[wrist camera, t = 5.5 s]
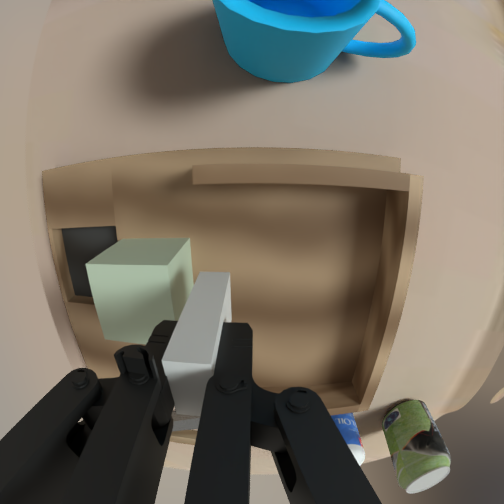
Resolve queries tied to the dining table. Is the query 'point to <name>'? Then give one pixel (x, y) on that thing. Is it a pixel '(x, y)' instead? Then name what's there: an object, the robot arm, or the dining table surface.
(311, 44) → the mug
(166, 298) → the block
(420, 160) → the dining table surface
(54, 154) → the dining table surface
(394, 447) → the beverage can
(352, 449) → the pill bottle
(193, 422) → the crook tool
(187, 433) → the dowel
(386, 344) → the cubby deck
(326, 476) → the robot arm
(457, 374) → the dining table surface
